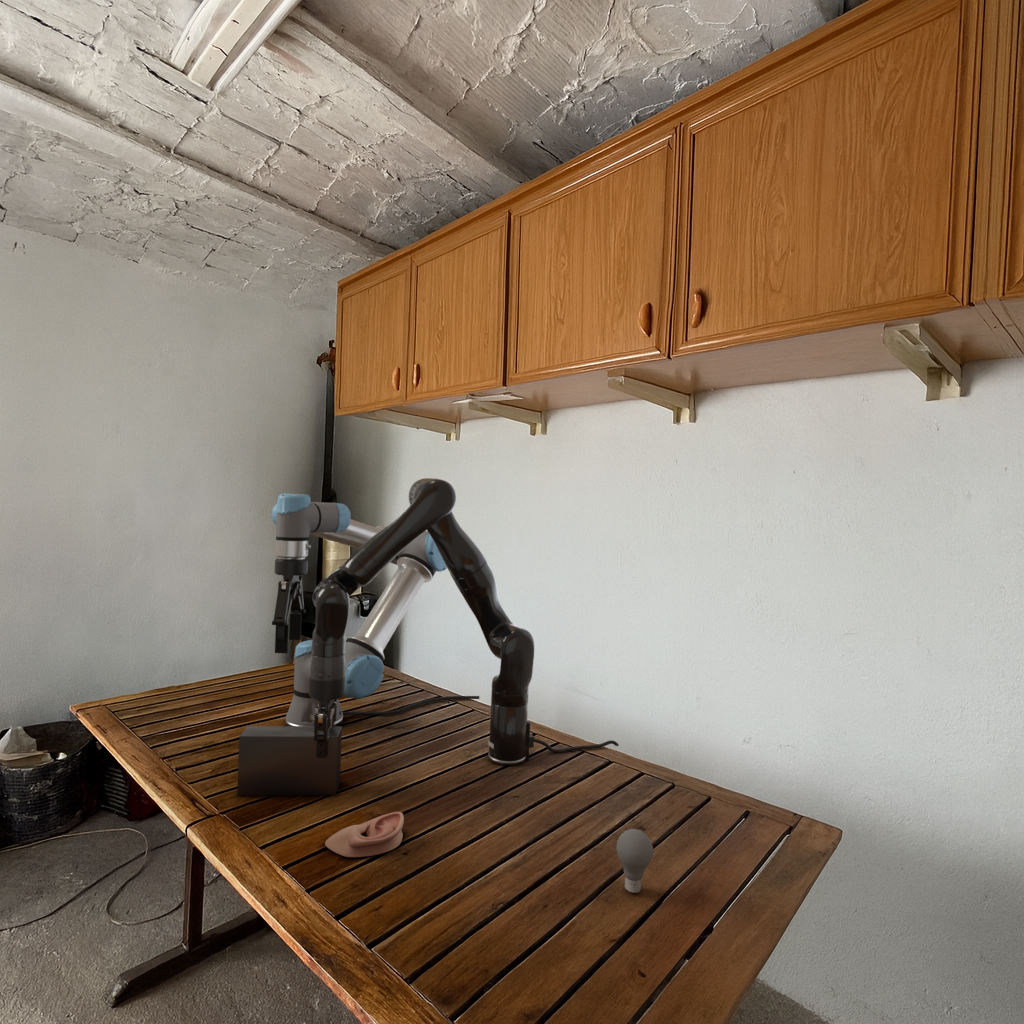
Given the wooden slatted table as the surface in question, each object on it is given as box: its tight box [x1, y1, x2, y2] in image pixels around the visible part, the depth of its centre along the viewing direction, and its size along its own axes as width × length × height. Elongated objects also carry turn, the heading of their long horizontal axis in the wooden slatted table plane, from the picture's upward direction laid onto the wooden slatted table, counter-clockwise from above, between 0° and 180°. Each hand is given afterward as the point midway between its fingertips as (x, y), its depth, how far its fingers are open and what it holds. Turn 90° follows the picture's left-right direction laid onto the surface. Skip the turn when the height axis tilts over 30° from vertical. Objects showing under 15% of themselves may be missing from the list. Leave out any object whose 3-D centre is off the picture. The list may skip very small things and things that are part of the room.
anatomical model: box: [324, 811, 405, 858], centre depth 117 cm, size 13×4×12 cm
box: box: [236, 725, 343, 797], centre depth 136 cm, size 20×6×13 cm, turn 96°
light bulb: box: [615, 828, 654, 894], centre depth 106 cm, size 6×6×10 cm
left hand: (288, 646), depth 152 cm, fingers open, 13 cm apart
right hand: (324, 751), depth 137 cm, fingers closed on box, 6 cm apart
